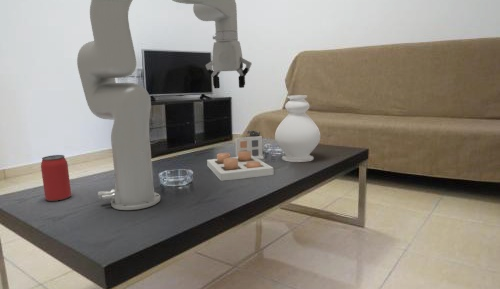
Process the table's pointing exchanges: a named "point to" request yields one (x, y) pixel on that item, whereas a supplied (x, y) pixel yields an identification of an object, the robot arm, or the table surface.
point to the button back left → (222, 157)
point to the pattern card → (250, 146)
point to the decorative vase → (297, 131)
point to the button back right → (244, 156)
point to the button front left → (230, 163)
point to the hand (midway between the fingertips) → (229, 87)
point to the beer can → (55, 178)
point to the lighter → (254, 134)
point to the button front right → (253, 164)
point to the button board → (239, 170)
